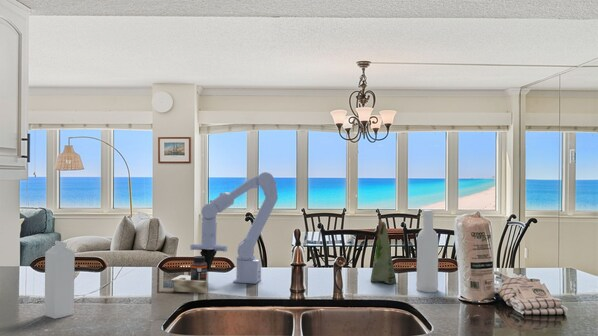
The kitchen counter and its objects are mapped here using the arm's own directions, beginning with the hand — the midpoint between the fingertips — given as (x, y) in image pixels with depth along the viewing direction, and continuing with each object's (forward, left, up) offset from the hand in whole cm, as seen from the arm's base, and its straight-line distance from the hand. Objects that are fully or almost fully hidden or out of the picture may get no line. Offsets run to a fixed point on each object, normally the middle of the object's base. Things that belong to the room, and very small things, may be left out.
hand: (208, 268), depth 204 cm
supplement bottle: (0, +10, -5) cm, 11 cm away
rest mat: (+10, -2, -5) cm, 11 cm away
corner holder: (0, +15, -5) cm, 16 cm away
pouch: (-67, -17, -5) cm, 69 cm away
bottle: (-84, -7, -5) cm, 85 cm away
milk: (+26, +55, -5) cm, 61 cm away
